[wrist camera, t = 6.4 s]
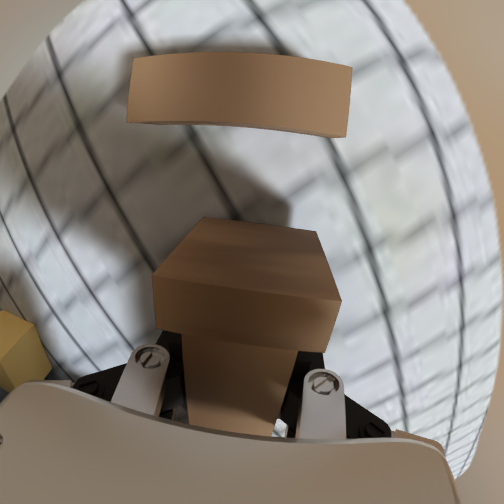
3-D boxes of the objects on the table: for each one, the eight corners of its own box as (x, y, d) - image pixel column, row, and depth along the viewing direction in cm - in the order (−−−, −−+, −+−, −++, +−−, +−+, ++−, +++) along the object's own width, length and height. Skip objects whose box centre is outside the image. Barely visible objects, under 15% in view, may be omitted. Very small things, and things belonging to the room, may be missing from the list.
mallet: (315, 231, 11) (341, 301, 6) (256, 460, 18) (250, 510, 14) (63, 203, 11) (-12, 240, 7) (124, 431, 19) (105, 474, 14)
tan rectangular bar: (334, 84, 10) (352, 67, 7) (328, 138, 11) (345, 137, 8) (165, 73, 10) (133, 58, 7) (159, 124, 11) (126, 122, 8)
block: (34, 323, 17) (-1, 360, 12) (53, 367, 19) (25, 403, 14) (2, 309, 17) (-30, 338, 12) (20, 350, 19) (-7, 381, 14)
